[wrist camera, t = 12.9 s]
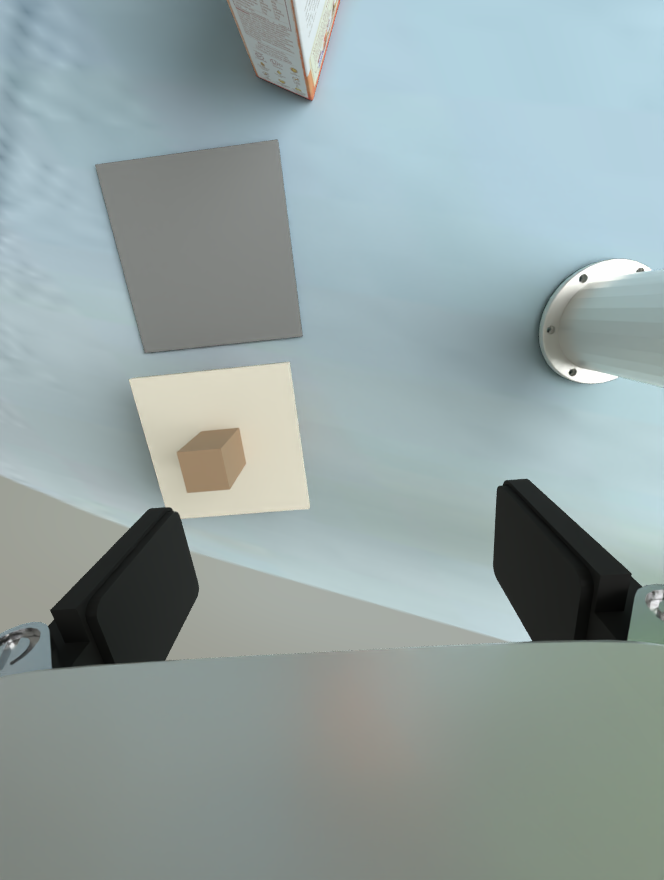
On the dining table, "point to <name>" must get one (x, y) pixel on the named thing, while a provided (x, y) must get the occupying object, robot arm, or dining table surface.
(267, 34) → the cracker box
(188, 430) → the lid
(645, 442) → the dining table surface
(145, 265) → the mat
